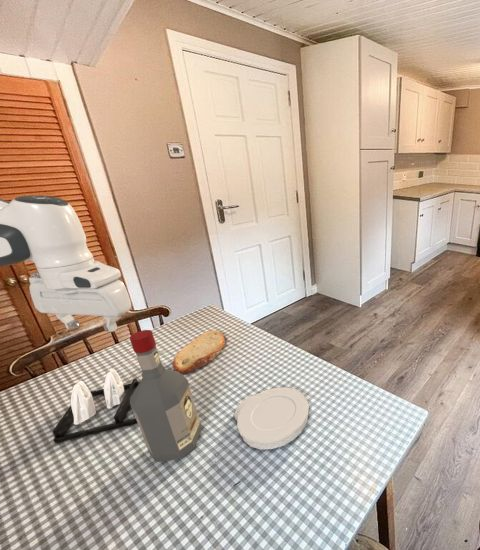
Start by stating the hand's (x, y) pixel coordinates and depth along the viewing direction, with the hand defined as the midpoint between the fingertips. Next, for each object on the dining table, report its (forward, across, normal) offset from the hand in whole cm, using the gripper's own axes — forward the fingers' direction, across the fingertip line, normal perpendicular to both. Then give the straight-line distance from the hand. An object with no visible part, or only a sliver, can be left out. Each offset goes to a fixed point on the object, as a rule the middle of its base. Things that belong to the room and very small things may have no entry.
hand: (92, 329), depth 70 cm
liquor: (+26, +20, -7) cm, 33 cm away
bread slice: (+26, +4, +26) cm, 37 cm away
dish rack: (+26, -4, +1) cm, 26 cm away
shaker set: (+26, -7, 0) cm, 27 cm away
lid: (+25, +39, +1) cm, 46 cm away
